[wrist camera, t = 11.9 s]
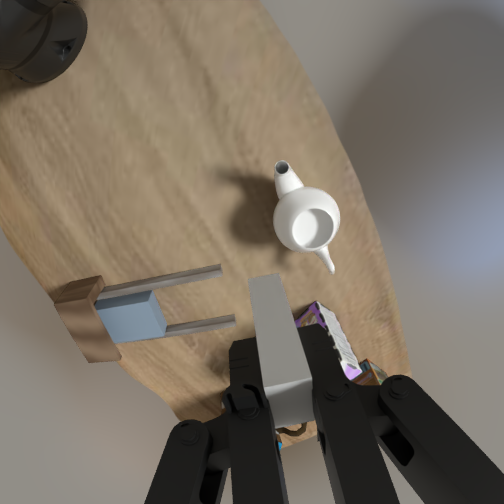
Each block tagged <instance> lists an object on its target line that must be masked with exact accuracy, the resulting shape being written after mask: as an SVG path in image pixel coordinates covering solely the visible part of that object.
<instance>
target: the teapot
mask: <svg viewBox="0 0 504 504" xmlns="http://www.w3.org/2000/svg"><path fill="white" fill-rule="evenodd" d="M274 180H275V187H276V192H277V195H278V198H279V202H278V203H277V205H276V207H275V210H274V215H273V225H274V230H275V233H276V235H277V237H278V239H279V240H280V241H281V243H282V244H283V245H284V246H286V247H287V248H289V249H290V250H293V251H295V252H299V253H311V252H314V253H315V254H316V255H317V256H318V257H319V258H320V259H321V260H322V261H323V262H324V263H325V265H326V266H327V268H328V270H329V273H330V274H331V275H332V274H334V273H335V270H334V269H335V268H334V264H333V263H332V261H331V258H330V256H329V252H328V247H327V245H328V244H329V243H330V242H331V241H332V240H333V238H334V237H335V235H336V233H337V231H338V229H339V225H340V213H339V209H338V206H337V204H336V202H335V201H334V199H333V198H332V197H331V196H330V195H329V194H328V193H326V192H325V191H323V190H321V189H319V188H316V187H311V186H304V185H303V183H302V182H301V180H300V179H299V178H298V176H297V175H296V174H295V172H294V171H293V170H292V168H291V167H290V166H289V164H288V163H287V162H286V161H284V160H280V161H278V162H277V163H276V164H275V167H274Z"/></svg>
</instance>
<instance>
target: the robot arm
mask: <svg viewBox="0 0 504 504" xmlns="http://www.w3.org/2000/svg"><path fill="white" fill-rule="evenodd" d="M86 34H87V18H86V15H85V13H84V11H83V10H82V9H81V8H80V7H79V6H78V5H76V4H74V3H73V2H71V1H67V0H0V69H3V70H9V71H10V72H12V73H14V74H15V75H16V76H17V77H18V78H19V79H21V80H23V81H26V82H32V83H42V82H47V81H49V80H52V79H54V78H55V77H57V76H59V75H60V74H61V73H62V72H64V71H65V70H66V69H67V68H68V67H69V66H70V65H71V64H72V62H73V61H74V60H75V58H76V57H77V55H78V54H79V52H80V50H81V48H82V46H83V44H84V41H85V38H86ZM248 283H249V290H250V297H251V304H252V311H253V318H254V325H255V332H256V337H254V338H249V339H243V340H238V341H233V343H232V345H231V347H230V349H229V367H230V386H229V387H228V388H227V389H226V390H225V391H224V393H223V395H222V402H223V404H224V407H225V409H226V411H225V412H224V413H223V414H222V415H221V416H219V417H217V418H215V419H212V420H210V421H207V422H205V423H202V422H201V421H197V420H185V421H182V422H180V423H179V424H177V425H176V426H175V427H174V428H173V430H172V431H171V433H170V435H169V438H168V440H167V443H166V446H165V449H164V451H163V454H162V457H161V459H160V462H159V465H158V467H157V470H156V473H155V475H154V478H153V481H152V484H151V487H150V489H149V492H148V495H147V497H146V500H145V503H144V504H220V502H221V497H222V493H223V489H224V485H225V481H226V476H227V472H228V468H230V467H231V480H232V495H233V504H289V501H288V495H287V490H286V485H285V478H284V472H283V467H282V461H281V455H280V449H279V443H278V439H277V436H276V430H275V429H276V428H281V427H286V426H291V425H296V424H301V423H305V422H309V421H314V420H315V421H316V424H317V436H318V441H320V445H321V449H322V453H323V456H324V460H325V464H326V467H327V471H328V476H329V480H330V484H331V487H332V491H333V495H334V499H335V503H336V504H400V503H399V500H398V497H397V494H396V491H395V488H394V486H393V483H392V480H391V477H390V475H389V472H388V469H387V467H386V464H385V462H384V459H383V456H382V453H381V451H380V449H379V446H378V444H379V445H380V446H381V448H382V449H383V450H384V451H385V453H386V454H387V456H388V457H389V458H390V459H391V461H392V462H393V463H394V465H395V466H396V467H397V468H398V470H399V471H400V472H401V474H402V475H403V476H404V478H405V479H406V480H407V482H408V483H409V484H410V485H411V487H412V488H413V489H414V490H415V492H416V493H417V494H418V496H419V497H420V498H421V500H422V501H423V502H424V503H425V504H504V474H503V473H502V472H501V470H500V469H499V468H498V467H497V466H496V465H495V464H494V463H493V462H492V461H491V460H490V459H489V458H488V457H487V456H486V454H485V453H484V452H483V451H482V450H481V449H480V448H479V447H478V446H477V445H476V444H475V443H474V442H473V441H472V440H471V439H470V437H469V436H468V435H466V433H465V432H464V431H463V430H462V429H461V428H460V427H459V426H458V425H457V424H456V423H455V422H454V421H453V420H452V419H451V418H450V417H449V416H448V415H447V414H446V413H445V412H444V411H443V410H442V409H441V407H439V406H438V405H437V404H436V403H435V401H434V400H433V399H432V398H431V397H430V396H429V395H428V394H427V393H426V392H424V391H423V389H422V388H421V387H420V386H419V385H418V384H417V383H416V382H415V381H414V380H413V379H411V378H410V377H408V376H404V375H393V376H390V377H388V378H386V379H385V380H384V381H383V382H382V384H381V385H359V384H356V383H354V382H352V381H350V380H349V379H348V378H347V376H346V375H345V373H344V370H343V368H342V366H341V363H340V361H339V359H338V356H337V354H336V351H335V349H334V348H333V344H332V342H331V341H330V337H329V335H328V333H327V330H326V329H325V328H323V327H322V326H321V325H320V324H319V323H316V324H311V325H307V326H303V327H298V328H296V325H295V322H294V318H293V315H292V312H291V309H290V306H289V303H288V300H287V297H286V293H285V290H284V287H283V284H282V281H281V278H280V275H279V273H276V274H271V275H266V276H261V277H256V278H251V279H248ZM377 442H378V443H377Z"/></svg>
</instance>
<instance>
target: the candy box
mask: <svg viewBox="0 0 504 504" xmlns="http://www.w3.org/2000/svg"><path fill="white" fill-rule="evenodd" d="M316 323H319V324H320V325H321V326H322V327H323V328H325V329H326V330H327V333H328V335H329V337H330V341H331V342H332V344H333V348H334V349H335V351H336V354H337V356H338V359H339V361H340V363H341V366H342V368H343V370H344V373H345V375H346V376H347V378H348V379H349V380H350V381H351V380H353V379H354V378H355V377H356V376H358V375H359V374H360V373H361V372H362V369H361V367H360V365H359V363H358V361H357V359H356V357H355V355H354V352H353V351H352V348H351V346H350V344H349V342H348V340H347V338H346V336H345V334H344V332H343V330H342V328H341V326H340V324H339V322H338V320H337V318H336V316H335V314H334V313H333V312H332V311H330V310H329V309H327V308H326V307H324V306H323V305H322V304H320V303H319V302H317V301H316V302H314V303H313V304H312V305H311V306H310V307H309V308H308V309H307V310H306V311H305V312H304V313H303V314H302V315H301V316H300V317H299V318H298V319H297V320H296V321H295V325H296V328H298V327H303V326H307V325H311V324H316Z"/></svg>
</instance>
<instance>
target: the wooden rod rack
mask: <svg viewBox="0 0 504 504" xmlns="http://www.w3.org/2000/svg"><path fill="white" fill-rule="evenodd" d="M220 276H222V267H221V264H218V265H213V266H208V267H203V268H198V269H193V270H188V271H184V272H179V273H174V274H169V275H164V276H158V277H153V278H148V279H143V280H138V281H133V282H128V283H123V284H118V285H113V286H108V287H104V286H105V283H104V280H103V278H102V276H101V275H100V276H95V277H91V278H86V279H81V280H77V281H72V282H70V283H69V285H68V286H67V287H66V289H65V290H64V291H63V293H62V294H61V295H60V297H59V298H58V299H57V301H56V302H55V303H54V306H55V308H56V310H57V311H58V313H59V315H60V317H61V319H62V320H63V322H64V324H65V326H66V327H67V329H68V330H69V332H70V334H71V336H72V337H73V339H74V341H75V342H76V344H77V345H78V347H79V349H80V350H81V351H82V353H83V355H84V356H85V358H86V359H87V361H88V362H89V363H94V362H108V361H120V360H121V357H122V355H121V354H120V352H119V350H118V349H117V347H116V345H115V344H118V343H114V342H113V340H112V338H111V337H110V335H109V333H108V331H107V329H106V328H105V326H104V324H103V322H102V320H101V318H100V316H99V315H98V313H97V311H96V309H95V307H94V303H95V301H96V300H98V299H104V298H109V297H115V296H120V295H126V294H131V293H137V292H142V291H147V290H153V289H158V288H163V287H169V286H174V285H179V284H184V283H189V282H195V281H200V280H205V279H210V278H215V277H220ZM233 326H236V318H235V314H234V315H228V316H223V317H217V318H212V319H206V320H200V321H194V322H188V323H182V324H176V325H170V326H166V331H165V335H164V336H163V337H156V338H149V339H142V340H135V341H143V340H151V339H159V338H166V337H173V336H179V335H186V334H192V333H199V332H205V331H211V330H217V329H222V328H228V327H233ZM135 341H127V342H135ZM127 342H119V343H127Z"/></svg>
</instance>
